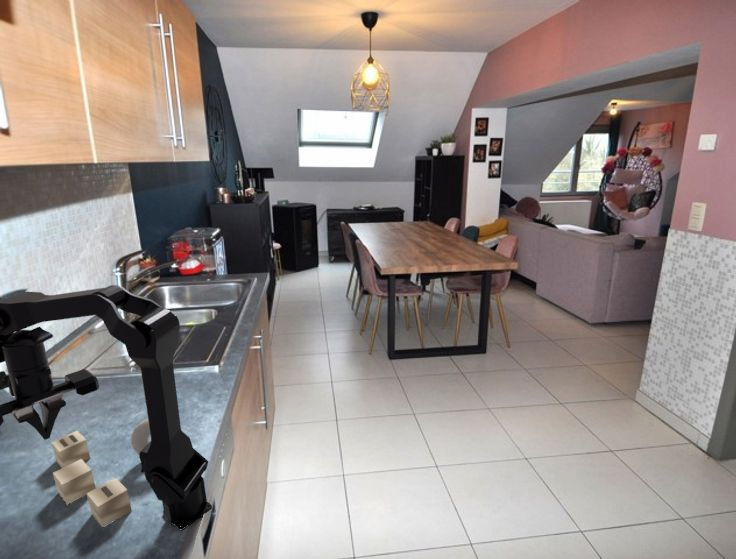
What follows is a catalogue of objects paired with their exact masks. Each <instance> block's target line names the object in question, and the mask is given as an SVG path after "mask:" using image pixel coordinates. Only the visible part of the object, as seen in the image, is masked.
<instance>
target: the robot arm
mask: <svg viewBox="0 0 736 559" xmlns="http://www.w3.org/2000/svg"><path fill="white" fill-rule="evenodd" d="M119 310H121V311H123V312H126V313H129V314H133V315H136V316H139V317H137V318H136V319H134V320H132V321H130V322H129V321H127V319H125V318H123V317H122V315H121V313H120V311H119ZM91 316H96V317H98V318H99V319H100V320H102V321H103V323H104V325H105V328H106V329H107V331H108V333H109V335H111V336H112V337H113V338H115V340H117V341H119V342H120V343H122V344H123V345H125V349H126V352H127V354H128V357H129V359H131V360H132V361H133V363H135V364H136V365H137V366H138V367H139V368H140V373H141V380H142V387H143V393H144V399H145V401H144V402H145V407H146V414H147V419H148V421H149V428H150V435H149V436H150V442H149V443H148V444H147V445H146V446H145V447H144V448H143V449H142V450H141V452H140V455H139V454H138V455H139V460H140V464H141V470H140V473H142V474H143V473H144V477H145V480H146V482H148V484H149V487H150V488H151V489H152V491H153V493H154V494H155V496H156V498H157V500H158V501H160V502H162V510H163V511H162V513H163V515H164V518H165V519H166V520H167V522H169V523H170V524H171V525H174V524H175V525H176V526H177V527H178V528H179V529H183V528H184V527H186V526H187V525H188V526H190V525H192V523H194V522H195V521H197V520H199V518H201V517H202V516H204V515H205V514H207V513H208V512H209V511H211V510H212V509H213V505H212V504H211V503H210V502H209V501H208V499H207V493H206V485H205V479H204V477H203V476H202V475H203V474H204V473H205V472H206V470H207V469H208V466H209V460H208V459H207V458H205V457H204V456H203V455H202V454H201V453H200V452H198V450H196V449H195V448H194V447H193V443H192V440H191V438H190V436H188V435H187V434H186V433H185V432H184V431H183V430H182V427H181V425H182V424H181V417H180V411H179V403H178V402H179V401H178V395H177V394H178V393H177V386H176V379H175V369H174V357H175V354H176V350H177V348H178V344H179V343H180V342H179V340H180V326H181V325H180V321H179V318H178V316H177V315H176V314H174V313H173V312H172V311H171V310H169V309H167V308H165V307H163V306H162V305H160V304H159V303H157V301H155V300H153V299H150V298H147V297H145V296H141V295H138V294H135V293H131V292H130V291H129V290H127V289H126V288H125V287H123V286H120V285H118V284H117V285H116V284H111V285H108V286H106V287H101V288H93V289H87V290H86V289H85V290H79V291H72V292H65V293H59V294H51V295H49V294H44V293H43V292H41V291H21V292H18V293H16V294H13V295H10V296H7V297H4V298H1V299H0V364H1V363H4V362H5V366H6V369H7V370H6V371H7V374H6V371H5V370H1V371H0V391H1V390H2V391H3V390H5V389H7V388H8V391H9V395H10V396H11V397H12V398H13V397H14V400H10V401H8V402H4V403H1V404H0V427H1V426H2V424H3V423H4V422H5V420H4V417H3V416H6V415H10V414H11V415H12V416H13V418H14V419H15V420H16V422H17V423H18V424H22V423H27V424H29V425H30V426H32V427H33V428H34V429H35V430H36V431H37V433H39V435H40V436H41V438H42V439H43V440H44V441H46V440H48V439H50V438H51V435H52V432H53V429H54V425H55V423H56V420H57V418H58V415H59V413H60V411H61V409H62V408H63V407H66V406H67V402H66V401H65V399H63V397H64V394H66V393H69V392H72V391H74V390H75V393H76V394H77V395H81V396H82V397H83V396H85V395H88V394H91V393H93V392H96V391H98V390H99V389H100V383H99V380H98V378H97V376H96V375H94V374H93V373H92V372H91V371H89V370H88V369H86V368H82V369H79V370H77V371H73V372H72V373H68V374H65V375H64V377H63V379H64V382H62V383H58V384H56V385H55V384H54V382H53V377H52V371H51V370H52V369H51V368H50V363H49V360H48V356H47V351H46V347H45V342H46V341H49V340H50V339H53V337H54V334H52V333H51V332H50V331H48V330H45V329H43V328H42V327H41V326H37V327H35V328H32V329H27V328H30V327H33V326H34V325H38V324H40V323H45V322H52V321H61V320H68V319H76V318H84V317H91ZM36 404H39V406H40V407H39V408H40V410H41V416H40V414H39V412H38V411H37V410H36V409H35V408H34V405H36ZM41 418H42V419H41ZM175 525H174V526H175ZM176 526H175V527H176ZM180 526H182V527H180ZM188 526H187V527H188ZM177 527H176V528H177ZM187 527H186V528H187ZM178 528H177V529H178ZM179 529H178V530H179ZM184 529H185V528H184ZM184 529H183V530H184Z"/></svg>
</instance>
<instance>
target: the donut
mask: <svg viewBox="0 0 736 559" xmlns="http://www.w3.org/2000/svg"><path fill="white" fill-rule="evenodd" d="M149 436H151V435H150V428H149V421H148V418H145V419H144V420H142V421H141V422H139V423H138V424H137V425H136V426H135V427H134V429H133V431H132V434H131V436H130V437H131V440H130V444H131V446H132V449H133V450H134V451H135V452H136V454H137V455H140V452H141V450H142V449H143V448H144V447H145V446H146V445H147V444H148V443H149V442H150V441H151V439H150V437H149Z"/></svg>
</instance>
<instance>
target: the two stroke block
mask: <svg viewBox="0 0 736 559" xmlns="http://www.w3.org/2000/svg"><path fill="white" fill-rule="evenodd" d="M51 446H52V450H53V454H54V459H55V462H56V463H57V465H59V466H60V469H62V468H64V467H66V466H68V465H70V464H72V463H74V462H76V461H78V460H80V459H82V460H83V461H84V462H86V461H88V460H90V459H91V455H90V451H89V447H88V442H87V439H86V438H85V436H83V435H82V433H80V431H78V430H75V431H73V432H71V433H68V434H66V435H64V436H62V437H59V438H57V439H54V440H53V441H51Z"/></svg>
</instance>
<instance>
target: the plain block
mask: <svg viewBox="0 0 736 559" xmlns="http://www.w3.org/2000/svg"><path fill="white" fill-rule="evenodd" d="M52 475H53V479H54V482H55V487H56V491H57V494H58V493H59V494H60V495H59V494H58V495H59V496H60V498H61V497H62V498H63V499H62V498H61V499H62V500H63V501H65V502H66V503H65V502H64V503H65V505H66V506H69V505H68V504H69V503H71V502H73V501H75V500H77V499H79V498H81V497H82V498H84V497H85V496H84V495H86V496H87V493H88V492H90V491H92V490H94V489H95V488H97V487H96V485H95V480H94V475H93V472H92V468H90V467H89V465H88V464H87V463H86V461H83V460H82V459H80V460H78V461H76V462H74V463H72V464H70V465H68V466H66V467H64V468H60V469H58V470H56V471H54V472H52ZM83 496H84V497H83ZM82 498H81V499H82ZM79 500H80V499H79ZM77 501H78V500H77ZM75 502H76V501H75ZM73 503H74V502H73ZM71 504H72V503H71Z"/></svg>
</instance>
